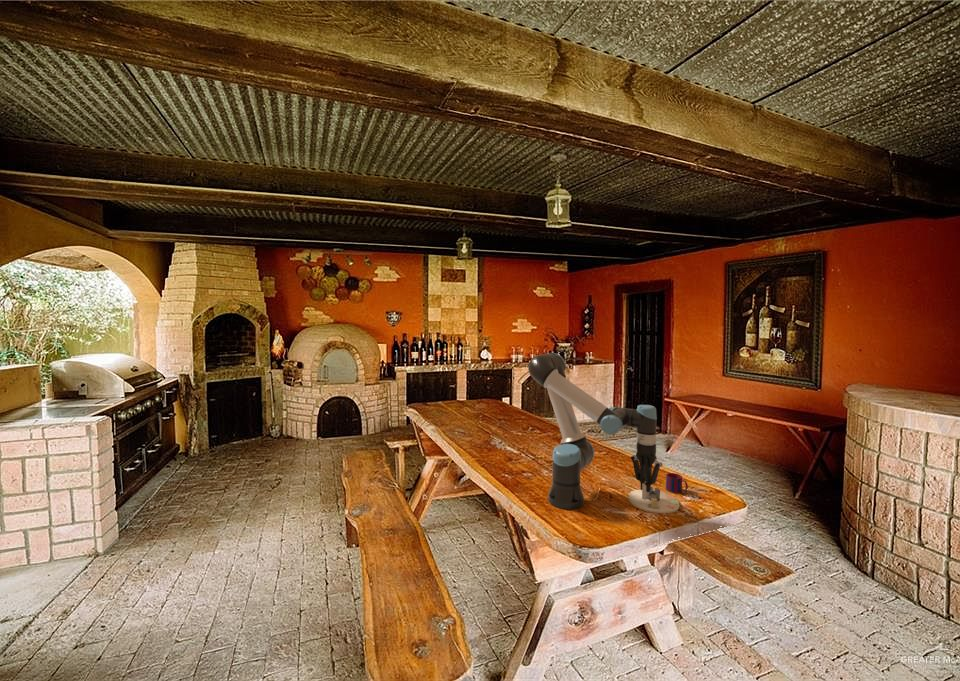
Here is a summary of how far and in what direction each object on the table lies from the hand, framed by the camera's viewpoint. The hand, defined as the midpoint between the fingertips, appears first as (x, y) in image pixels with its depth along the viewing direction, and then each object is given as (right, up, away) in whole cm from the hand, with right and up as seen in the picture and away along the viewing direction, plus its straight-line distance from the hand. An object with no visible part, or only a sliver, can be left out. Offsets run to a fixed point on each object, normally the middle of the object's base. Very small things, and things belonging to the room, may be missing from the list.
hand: (645, 498), depth 175 cm
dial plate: (+5, -4, +5) cm, 8 cm away
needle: (+4, -2, +1) cm, 5 cm away
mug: (+20, -3, +16) cm, 26 cm away
